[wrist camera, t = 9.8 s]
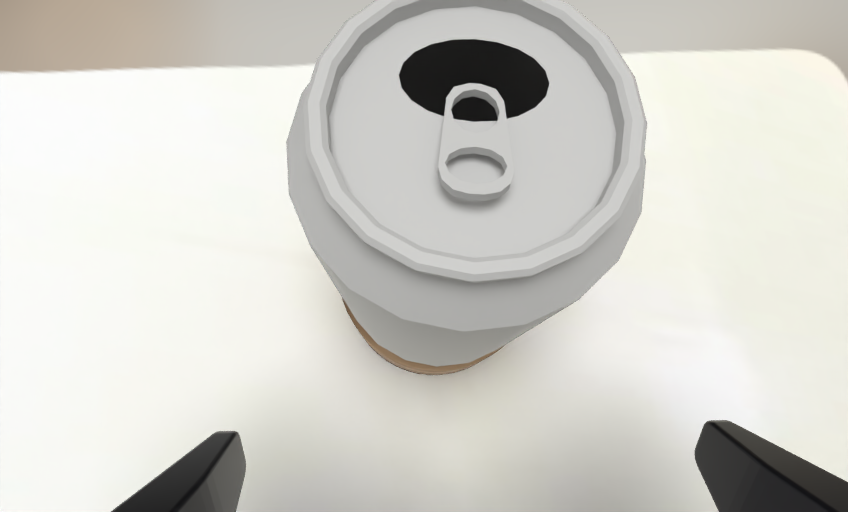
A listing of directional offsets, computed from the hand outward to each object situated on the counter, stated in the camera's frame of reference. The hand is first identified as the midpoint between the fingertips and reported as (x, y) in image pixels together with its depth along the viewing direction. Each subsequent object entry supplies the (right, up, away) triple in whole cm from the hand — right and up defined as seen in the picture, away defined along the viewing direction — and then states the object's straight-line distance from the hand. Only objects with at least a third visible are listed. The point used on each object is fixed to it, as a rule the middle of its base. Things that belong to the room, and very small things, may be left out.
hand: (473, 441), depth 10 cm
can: (0, +3, +11) cm, 11 cm away
